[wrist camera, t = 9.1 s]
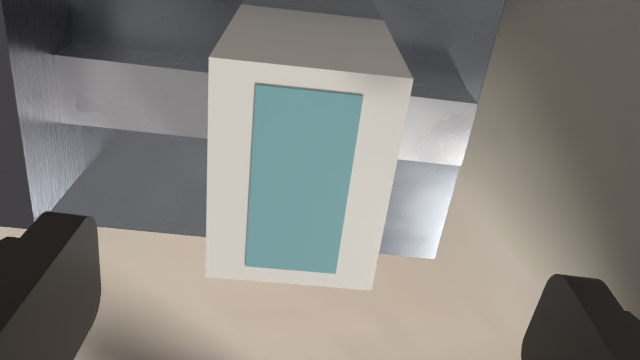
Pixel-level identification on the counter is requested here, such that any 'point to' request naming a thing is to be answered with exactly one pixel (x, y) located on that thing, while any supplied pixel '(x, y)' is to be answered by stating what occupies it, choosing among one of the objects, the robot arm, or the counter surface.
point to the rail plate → (182, 161)
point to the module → (302, 146)
